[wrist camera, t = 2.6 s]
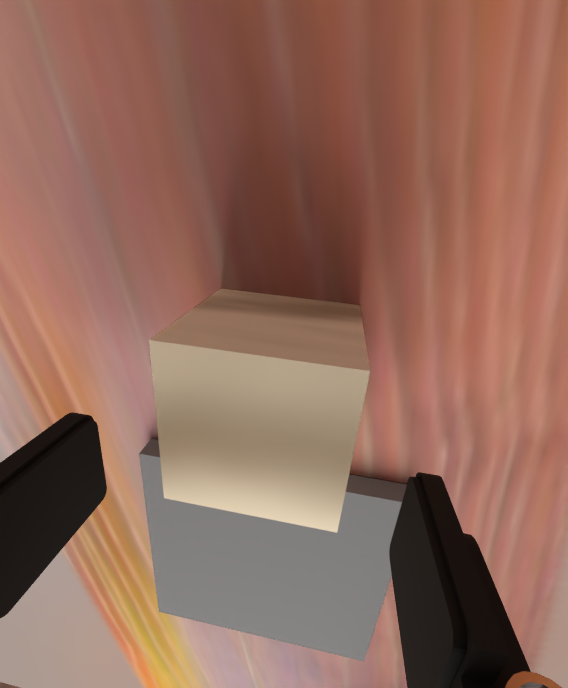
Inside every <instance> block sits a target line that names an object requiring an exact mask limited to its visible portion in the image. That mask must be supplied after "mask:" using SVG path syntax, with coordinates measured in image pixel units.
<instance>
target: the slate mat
mask: <svg viewBox="0 0 568 688" xmlns="http://www.w3.org/2000/svg"><path fill="white" fill-rule="evenodd" d="M139 456H140V464H141V472H142V480H143V488H144V496H145V504H146V512H147V519H148V527H149V535H150V543H151V551H152V559H153V567H154V575H155V583H156V591H157V599H158V607H159V612H163V613H167V614H171V615H175V616H179V617H183V618H187V619H192V620H196V621H200V622H204V623H208V624H212V625H216V626H220V627H225V628H229V629H233V630H237V631H241V632H245V633H249V634H253V635H257V636H262V637H266V638H270V639H274V640H278V641H282V642H286V643H290V644H295V645H299V646H303V647H307V648H311V649H315V650H319V651H323V652H328V653H332V654H336V655H340V656H344V657H348V658H352V659H356V660H361V661H364V659H365V656H366V653H367V650H368V647H369V644H370V641H371V638H372V635H373V631H374V628H375V625H376V622H377V619H378V616H379V613H380V610H381V607H382V604H383V601H384V597H385V594H386V591H387V588H388V585H389V582H390V579H391V576H392V573H391V566H390V558H389V549H390V543H391V539H392V536H393V532H394V529H395V525H396V522H397V518H398V515H399V511H400V508H401V504H402V500H403V497H404V493H405V490H406V486H407V484H401V483H396V482H390V481H384V480H379V479H373V478H368V477H362V476H356V475H351V474H349V477H348V482H347V487H346V492H345V497H344V502H343V507H342V512H341V517H340V521H339V526H338V531H337V533H336V532H331V531H326V530H321V529H316V528H311V527H306V526H301V525H296V524H291V523H286V522H281V521H276V520H271V519H266V518H261V517H256V516H251V515H246V514H241V513H236V512H231V511H226V510H221V509H216V508H211V507H206V506H201V505H196V504H191V503H186V502H181V501H176V500H171V499H166V498H164V493H163V482H162V472H161V461H160V451H159V440H155V439H151V440H150V441H149V442H148V443H147V445H146V446H145V447H144V448H143V450H142V451H141V452H140V453H139Z"/></svg>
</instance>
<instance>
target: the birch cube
mask: <svg viewBox="0 0 568 688" xmlns="http://www.w3.org/2000/svg"><path fill="white" fill-rule="evenodd" d="M149 346H150V356H151V367H152V377H153V388H154V398H155V409H156V419H157V430H158V440H159V451H160V461H161V472H162V482H163V493H164V498H166V499H171V500H176V501H181V502H186V503H191V504H196V505H201V506H206V507H211V508H216V509H221V510H226V511H231V512H236V513H241V514H246V515H251V516H256V517H261V518H266V519H271V520H276V521H281V522H286V523H291V524H296V525H301V526H306V527H311V528H316V529H321V530H326V531H331V532H336V533H337V531H338V526H339V521H340V517H341V512H342V507H343V502H344V497H345V492H346V487H347V482H348V477H349V472H350V468H351V463H352V458H353V453H354V448H355V443H356V438H357V433H358V428H359V424H360V419H361V414H362V409H363V404H364V399H365V394H366V389H367V384H368V380H369V375H370V367H369V360H368V354H367V347H366V341H365V335H364V328H363V322H362V315H361V309H360V305H355V304H347V303H339V302H330V301H322V300H313V299H305V298H296V297H288V296H280V295H271V294H263V293H254V292H246V291H238V290H229V289H219V290H218V291H216V292H215V293H214V294H212V295H211V296H209V297H208V298H207V299H205V300H204V301H202V302H201V303H200V304H198V305H197V306H195V307H194V308H193V309H191V310H190V311H189V312H187V313H186V314H184V315H183V316H182V317H180V318H179V319H177V320H176V321H175V322H173V323H172V324H170V325H169V326H168V327H166V328H165V329H163V330H162V331H161V332H159V333H158V334H156V335H155V336H154V337H152V338H151V339H150V340H149Z"/></svg>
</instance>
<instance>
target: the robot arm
mask: <svg viewBox="0 0 568 688" xmlns="http://www.w3.org/2000/svg"><path fill="white" fill-rule="evenodd" d="M106 490H107V486H106V479H105V473H104V466H103V459H102V453H101V446H100V439H99V432H98V426H97V423H96V422H95V421H94V420H93V418H92V416H89V415H84V414H78V413H69V414H67V415H65V416H64V417H63V418H61V419H60V420H59V421H57V422H56V423H54V424H53V425H52V426H50V427H49V428H48V429H46V430H45V431H43V432H42V433H41V434H39V435H38V436H37V437H35V438H34V439H32V440H31V441H30V442H28V443H27V444H26V445H24V446H23V447H21V448H20V449H19V450H17V451H16V452H15V453H13V454H12V455H10V456H9V457H8V458H6V459H5V460H4V461H2V462H1V463H0V618H2V617H4V616H5V615H6V614H7V613H8V612H9V611H10V610H11V609H12V608H13V606H14V605H15V604H16V603H17V602H18V601H19V599H20V598H21V597H22V596H23V595H24V593H25V592H26V591H27V590H28V589H29V588H30V586H31V585H32V584H33V583H34V582H35V580H36V579H37V578H38V577H39V576H40V574H41V573H42V572H43V571H44V570H45V568H46V567H47V566H48V565H49V564H50V562H51V561H52V560H53V559H54V558H55V556H56V555H57V554H58V553H59V552H60V550H61V549H62V548H63V547H64V546H65V545H66V543H67V542H68V541H69V540H70V539H71V537H72V536H73V535H74V534H75V533H76V531H77V530H78V529H79V528H80V527H81V525H82V524H83V523H84V522H85V521H86V519H87V518H88V517H89V516H90V515H91V513H92V512H93V511H94V510H95V509H96V507H97V506H98V505H99V504H100V503H101V501H102V500H103V499H104V497H105V494H106ZM389 558H390V566H391V573H392V580H393V587H394V594H395V601H396V609H397V616H398V623H399V630H400V637H401V644H402V651H403V658H404V665H405V673H406V680H407V687H408V688H562V687H561V686H559V685H558V684H556V683H555V682H554V681H552V680H551V679H549V678H546V677H544V676H542V675H540V674H538V673H533V672H531V671H530V669H529V666H528V664H527V662H526V659H525V657H524V654H523V652H522V650H521V647H520V645H519V642H518V640H517V638H516V635H515V633H514V630H513V628H512V625H511V623H510V621H509V618H508V616H507V613H506V611H505V609H504V606H503V604H502V601H501V599H500V597H499V594H498V592H497V589H496V587H495V584H494V582H493V580H492V577H491V575H490V572H489V570H488V568H487V565H486V563H485V560H484V558H483V556H482V553H481V551H480V548H479V546H478V544H477V542H476V540H475V539H474V537H473V536H472V535H469V534H464V533H463V531H462V529H461V526H460V523H459V521H458V518H457V516H456V513H455V510H454V508H453V505H452V503H451V500H450V497H449V495H448V492H447V490H446V487H445V484H444V482H443V479H442V478H441V477H440V476H438V475H432V474H426V473H420V472H419V473H417V474H416V477H409V479H408V483H407V486H406V490H405V493H404V497H403V500H402V504H401V508H400V511H399V515H398V518H397V522H396V525H395V529H394V532H393V536H392V539H391V543H390V549H389ZM0 688H19V687H16V686H12V685H9V684H5V683H1V682H0Z"/></svg>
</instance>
